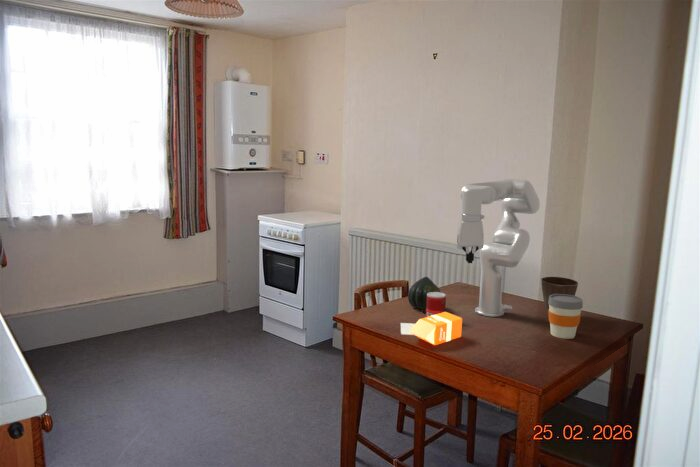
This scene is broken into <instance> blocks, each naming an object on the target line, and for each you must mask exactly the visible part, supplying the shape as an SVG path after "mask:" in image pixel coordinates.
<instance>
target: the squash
mask: <svg viewBox="0 0 700 467" xmlns="http://www.w3.org/2000/svg"><path fill="white" fill-rule="evenodd" d="M429 292H440V293H442V292H441V289H440V288H439V287H438V286H437V285H436V283H434V282H433V280H431V278H429V277H428V276H424V277H422V278H420V279H418V280H417V281H415V282H414V283H413V284H412V285H411V286H410V288H409V290H408V293H407V300H408V302H409V305H410V306H411V307H412V308H415V309H423V310H424V311H425V312H426V307H427V293H429Z"/></svg>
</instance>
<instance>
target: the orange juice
mask: <svg viewBox="0 0 700 467" xmlns="http://www.w3.org/2000/svg"><path fill="white" fill-rule="evenodd" d="M414 324H415V325H414V326H413V327H412V328H411V329H410V331H409V332H410V333H412V334H414V335H413V336H416V337H417V339H418V338H419V339H421V340H423V341H425V342H426V343H429V344H431V345H432V346H438V345H440V344H443V343H447V342H450V341H452V340H455V339H459V338H461V337H462V328H463V327H462V326H463V318H462V317H460V316H457V315H455V314H452V313H450V312H447V311H445V312H443V313H439V314H436V315H432V316H429V317H426V316H425V317H422V318H419V319H418V320H417V321H416V323H414Z"/></svg>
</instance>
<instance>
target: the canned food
mask: <svg viewBox="0 0 700 467" xmlns="http://www.w3.org/2000/svg"><path fill="white" fill-rule="evenodd" d="M440 292H441V291H440ZM440 292H429V293H427V307H426V311H425V312H426V313H425V317H429V316H432V315H436V314H439V313H443V312H446V302H447V301H446V300H447V295H446V294H445V293H444V292H441V293H440Z"/></svg>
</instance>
